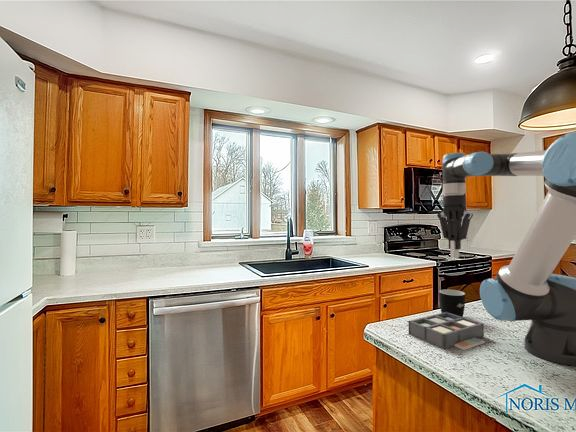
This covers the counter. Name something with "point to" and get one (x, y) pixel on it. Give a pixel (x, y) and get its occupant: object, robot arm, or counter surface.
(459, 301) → the mug
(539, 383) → the counter surface
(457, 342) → the gray compartment tray
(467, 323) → the key
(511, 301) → the robot arm
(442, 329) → the key
